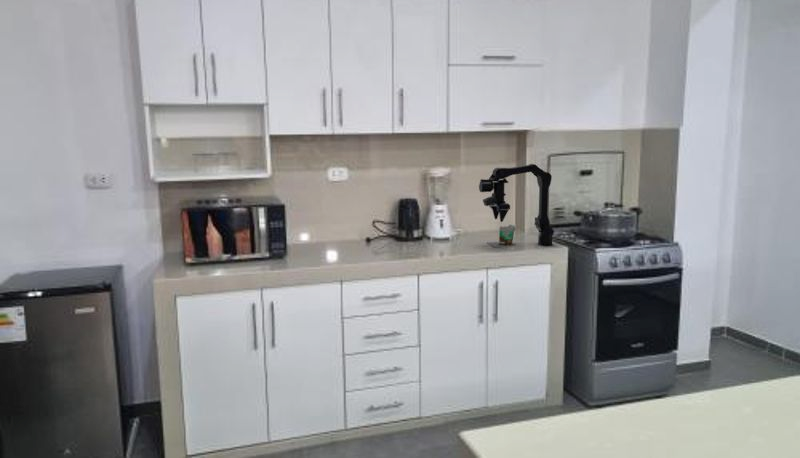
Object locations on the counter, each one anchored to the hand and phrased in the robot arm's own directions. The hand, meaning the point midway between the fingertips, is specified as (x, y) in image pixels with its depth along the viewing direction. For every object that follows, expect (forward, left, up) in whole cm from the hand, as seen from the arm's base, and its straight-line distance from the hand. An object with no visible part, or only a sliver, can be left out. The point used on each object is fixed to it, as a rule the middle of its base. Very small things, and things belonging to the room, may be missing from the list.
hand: (498, 220), depth 315 cm
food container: (-7, -4, -14) cm, 16 cm away
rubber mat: (0, -4, -14) cm, 15 cm away
